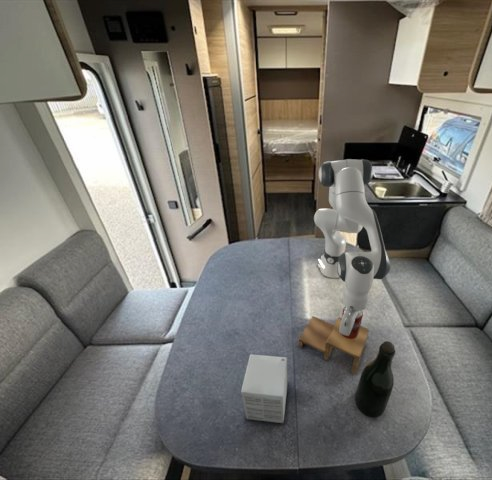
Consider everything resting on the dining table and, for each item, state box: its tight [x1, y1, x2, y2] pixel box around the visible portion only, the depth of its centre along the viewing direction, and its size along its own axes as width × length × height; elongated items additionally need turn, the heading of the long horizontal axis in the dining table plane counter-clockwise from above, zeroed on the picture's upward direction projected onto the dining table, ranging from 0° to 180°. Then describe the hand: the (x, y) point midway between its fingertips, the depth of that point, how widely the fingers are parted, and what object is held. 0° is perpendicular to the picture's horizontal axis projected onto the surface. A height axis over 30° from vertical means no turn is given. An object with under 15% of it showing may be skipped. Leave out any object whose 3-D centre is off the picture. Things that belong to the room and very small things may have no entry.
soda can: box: [341, 305, 364, 339], centre depth 99 cm, size 7×7×12 cm
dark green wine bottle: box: [354, 340, 396, 419], centre depth 84 cm, size 10×10×33 cm
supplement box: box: [240, 353, 289, 424], centre depth 89 cm, size 13×13×18 cm
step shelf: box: [298, 315, 370, 374], centre depth 109 cm, size 14×25×11 cm, turn 61°
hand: (350, 324), depth 100 cm, fingers closed on soda can, 7 cm apart
